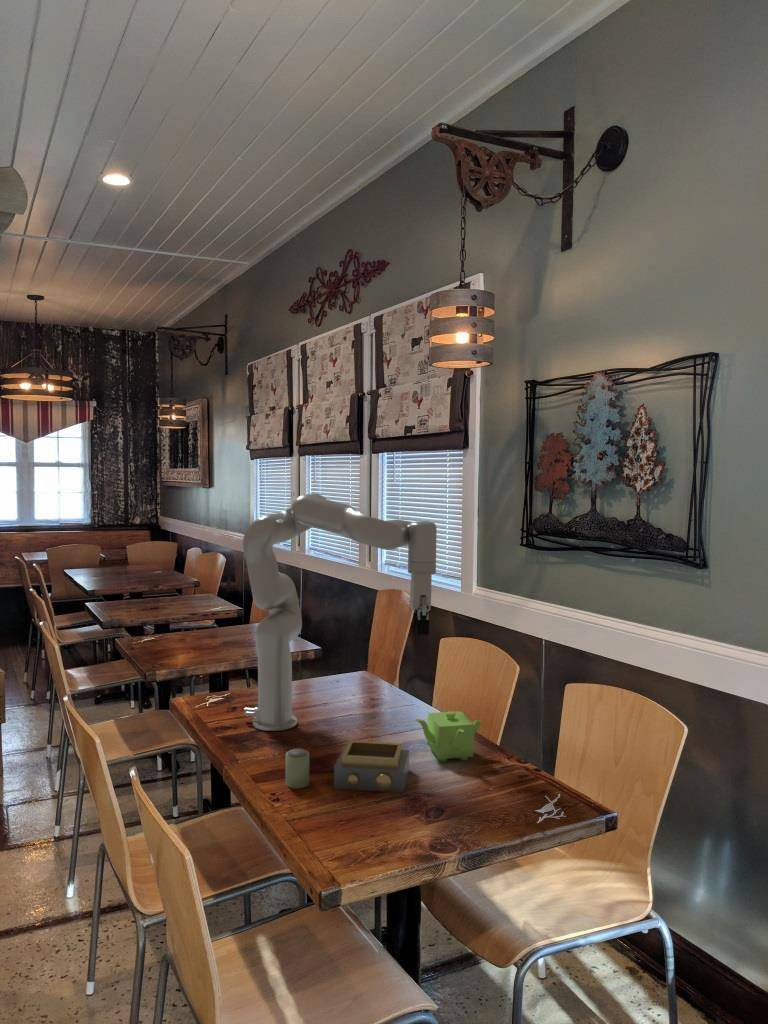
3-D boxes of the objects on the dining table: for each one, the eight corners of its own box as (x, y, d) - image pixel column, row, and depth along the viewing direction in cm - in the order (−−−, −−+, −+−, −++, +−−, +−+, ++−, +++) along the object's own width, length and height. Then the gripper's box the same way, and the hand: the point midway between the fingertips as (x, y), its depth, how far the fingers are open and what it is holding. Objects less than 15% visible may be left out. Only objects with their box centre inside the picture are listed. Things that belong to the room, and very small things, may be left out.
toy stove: (333, 790, 171) (333, 760, 171) (344, 765, 185) (344, 738, 185) (402, 795, 169) (403, 764, 169) (409, 770, 183) (409, 741, 183)
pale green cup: (282, 787, 173) (282, 755, 172) (290, 774, 180) (290, 744, 180) (306, 789, 172) (306, 757, 172) (313, 775, 180) (313, 745, 179)
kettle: (462, 771, 183) (463, 726, 182) (411, 759, 190) (411, 716, 189) (487, 751, 196) (487, 709, 195) (438, 741, 203) (438, 700, 202)
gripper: (405, 563, 211) (404, 623, 212) (410, 572, 194) (409, 637, 195) (432, 563, 211) (431, 623, 212) (439, 572, 194) (438, 637, 195)
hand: (420, 630), depth 203 cm, fingers open, 9 cm apart
